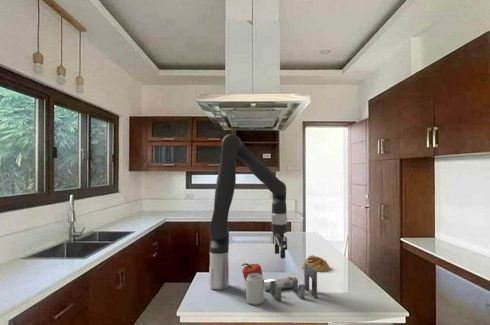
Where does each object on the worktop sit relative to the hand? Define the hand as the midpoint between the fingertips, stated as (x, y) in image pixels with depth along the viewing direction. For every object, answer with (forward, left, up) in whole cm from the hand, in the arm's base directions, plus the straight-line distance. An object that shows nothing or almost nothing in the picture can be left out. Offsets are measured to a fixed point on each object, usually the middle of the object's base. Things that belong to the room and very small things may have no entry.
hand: (279, 255), depth 170 cm
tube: (0, 0, -16) cm, 16 cm away
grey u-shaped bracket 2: (+5, -10, -16) cm, 19 cm away
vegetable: (-11, +12, -16) cm, 23 cm away
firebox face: (+11, -10, -16) cm, 22 cm away
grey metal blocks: (-6, -10, -16) cm, 19 cm away
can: (-16, -13, -16) cm, 26 cm away
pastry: (+30, +26, -16) cm, 43 cm away
